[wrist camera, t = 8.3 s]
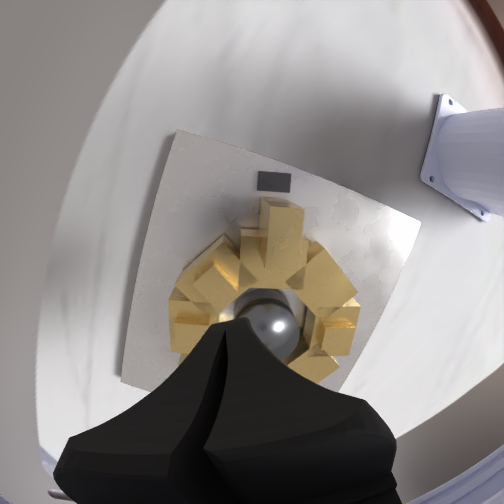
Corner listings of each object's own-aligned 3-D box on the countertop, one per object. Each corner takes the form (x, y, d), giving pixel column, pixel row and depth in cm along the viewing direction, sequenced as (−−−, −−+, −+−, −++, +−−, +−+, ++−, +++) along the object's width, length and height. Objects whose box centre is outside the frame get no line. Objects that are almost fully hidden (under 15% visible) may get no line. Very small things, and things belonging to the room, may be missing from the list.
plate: (413, 220, 20) (445, 231, 16) (313, 417, 25) (323, 447, 21) (180, 131, 18) (166, 121, 14) (123, 374, 22) (110, 404, 18)
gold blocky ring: (329, 382, 22) (345, 420, 18) (178, 379, 21) (169, 421, 17) (364, 207, 18) (400, 219, 14) (175, 192, 17) (156, 200, 13)
